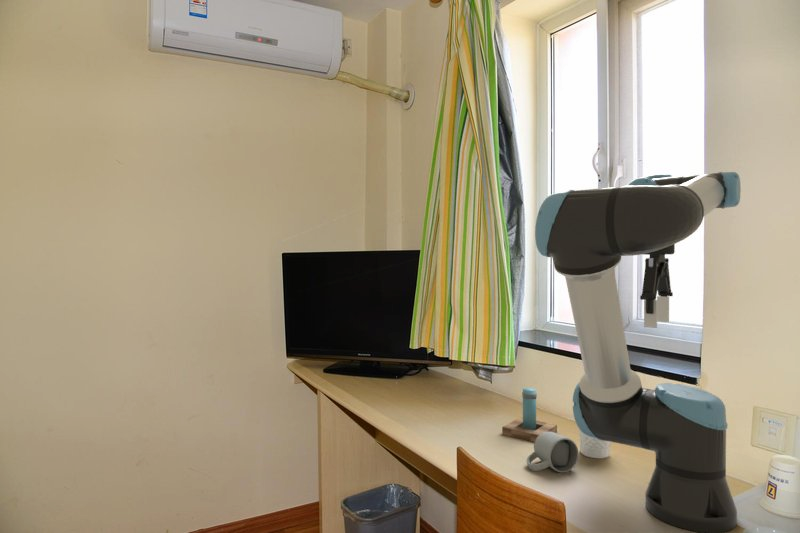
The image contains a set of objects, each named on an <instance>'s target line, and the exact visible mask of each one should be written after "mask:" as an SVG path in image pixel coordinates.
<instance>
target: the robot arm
mask: <svg viewBox="0 0 800 533" xmlns="http://www.w3.org/2000/svg"><path fill="white" fill-rule="evenodd" d="M741 191H742V190H741V178H740V175H739V174H738V173H737V172H736V171H724V172H723V171H718V172H714V173H713V172H712V173H702V174H692V175H683V176H682V175H680V176H673V175H671V174H664V173H663V174H651V175H646V176H644V177H637V178H635V179H633V180H631V181H630V182H629V183H628V184H627V185H624V186H623V185H622V186H616V187H615V186H614V187H603V188H590V189H580V190H575V189H569V190H568V191H567V190H566V191H561V192H560V191H559V192H555V193H551V194H549V195H548V196H547V197H546V198H545V199H544V200H543V202H542V203H541V205H540V207H539V209H538V213H537V216H536V219H535V220H536V221H535V228H534V238H535V245H536V248H537V250H538V253H540V255H541V256H544V257H546V258H552V262H553V266H554V269H555V271H556V273H558V274H560V275H561V276H563V277H564V278H565V283H566V286H567V291H568V292H567V293H568V296H569V302H570V307H571V312H572V316H573V321H574V326H575V332H576V336H577V341H578V347H579V352H580V356H581V362H582V365H583V367H582V368H583V371H584V374H583V375H582V376H581V378H580V380H579V382H577V384H576V386H575V388H574V391H573V395H572V403H573V405H572V414H573V418H574V421H575V423H576V425H577V428H578V430H579V429H580V430H581V431H582V432H583V433H584V434H586V435H588V436H591V437H594V438H597V439H599V440H604V441H610V442H611V443H615V444H620V445H626V446H630V447H634V448H638V449H639V448H640V449H644V450H648V451H653V452H654V453H655V466H654V467H655V468H654V469H653V472H652V475H651V477H650V479H649V482H648V486H647V489H646V490H645V495H644V496H645V501H644V503H645V507H646V509H647V510H648V512H649V513H650V514H651V515H653V516H654V517H656V518H657V519H658V520H660V521H662V522H664V523H667V524H669V525H671V526H673V527H677V528H680V529H683V530H688V531H693V532H698V533H724V532H728V531H731V530H734V528H736V526H737V525H738V523H737V522H738V510H737V507H736V505H735V502H734V498H733V496H732V495H733V494H732V492H731V490H730V487H729V484H728V481H727V474H726V473H727V472H726V471H727V429H728V423H727V410H726V405H725V403H724V401H722V399H721V398H720V397H718V396H717V395H716V394H713V393H711V392H709V391H707V390H704V389H701V388H698V387H696V386H695V387H694V386H691V385H685V384H683V383H682V384H680V383H671V382H662V383H658V384H657V385H656V387H655V388H654V389H650V388H645V387H643V386H642V380H641V378H640V376H639V375H638V373H637V372H636V371H634V370H632V369H631V364H630V358H629V351H628V346H627V345H628V344H627V341H626V335H625V334H626V333H625V327H624V321H623V316H622V309H621V304H620V297H619V291H618V286H617V285H618V284H617V280H616V273H615V268H616V267H617V266H619V264H620V262H621V260H622V257H624V256H625V257H626V256H627V257H628V256H640V255H647V256H649V257H647V258H645V259H644V274H643V282H642V289H641V290H642V291H641V295H639V296H640V297H639V299H640V300H641V301H642V300H643V327H644V328H652V329H657V328H658V323H659V322H661V323H669V322H670V297H673V295H674V294H673V292H672V289H671V288H672V287H671V276H670V268H669V266H670V265H669V262H670V260H669V257H666V256H665V255H674V254H675V252H676V250H675V244H678V243H680V242H681V241H684V240H685V239H687V238H689V237H690V236H691V235H692V234H694V233H695V232H696V231H697V230H698V229H699V227H700V226H701V224H702V223H703V220H704V217H706V216H707V215H709V214H710V213H711V212H713V211H714V210H716V209H725V208H734V207H737V206H738V205H739V204H740V201H741Z"/></svg>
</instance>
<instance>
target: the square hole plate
mask: <svg viewBox="0 0 800 533" xmlns="http://www.w3.org/2000/svg"><path fill="white" fill-rule="evenodd" d="M501 431H502V432H501V433H502V436H503V435H504V436H508V437H512V438H517V439H521V440H525V441H531V442H534V443H535V440H536V438H537V437H538V435H540V434H541V433H543V432H554V433H557V432H558V425H557V424H555V423H550V422H545V421H540V420H536V430H535V431H534V430H530V429H525V428H523V417H521V416H519V417H518V418H516V419H515V420H512V421H511V422H508V423H507V424H505V425H503V426H502V430H501Z"/></svg>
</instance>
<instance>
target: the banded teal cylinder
mask: <svg viewBox="0 0 800 533" xmlns="http://www.w3.org/2000/svg"><path fill="white" fill-rule="evenodd" d="M537 394H538V393H537V389H536V388H532V387H525V388H522V395H521V396H522V397H521V398H522V418H523V428H525V429H530V430H534V431H535V430H536V421H537V396H538V395H537Z"/></svg>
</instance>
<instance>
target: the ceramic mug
mask: <svg viewBox="0 0 800 533" xmlns="http://www.w3.org/2000/svg"><path fill="white" fill-rule="evenodd" d="M533 449H534V450H533V451H534V452H532V453H531V454H529V456H527V457H526V460H525V461H526V464H527V466H528V468H529V469H530V470H531V471H534V472H535V471H537V472H538V471H542V470H545V469H547V468H548V467H549V468H551V469H552V470H554V472H557V473H562V474H563V473H568V472H570V471H571V470H572V469H573V468H575V466H576V464H577V463H578V460H579V449H578V446H577V444H576V443H575V441H574V440H573V439H571V438H570V437H567V436H564V435H561V434H558V433H557V432H556V433H554V432H543V433H541V434H540V435H538V437H537V438H536V440H535V442H534V444H533ZM537 458H538V459H539V460H540V461H541V462H538V463H533V464H532V462H533V461H534V460H536V459H537Z"/></svg>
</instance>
